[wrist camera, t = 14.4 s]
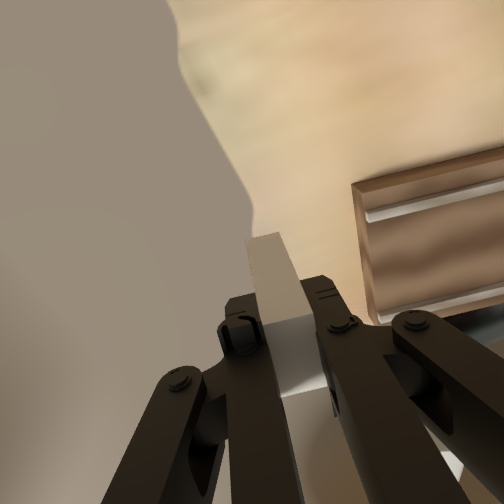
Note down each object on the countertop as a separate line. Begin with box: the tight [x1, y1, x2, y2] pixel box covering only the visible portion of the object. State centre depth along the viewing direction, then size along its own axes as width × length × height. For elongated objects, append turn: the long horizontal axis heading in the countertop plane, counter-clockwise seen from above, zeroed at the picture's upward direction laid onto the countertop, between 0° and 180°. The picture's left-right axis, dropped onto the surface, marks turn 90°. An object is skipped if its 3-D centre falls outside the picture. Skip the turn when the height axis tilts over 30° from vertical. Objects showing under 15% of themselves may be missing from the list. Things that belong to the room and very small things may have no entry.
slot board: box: [351, 147, 504, 326], centre depth 49 cm, size 18×20×5 cm
